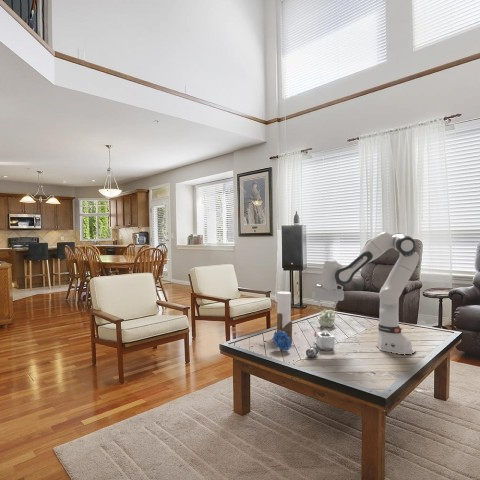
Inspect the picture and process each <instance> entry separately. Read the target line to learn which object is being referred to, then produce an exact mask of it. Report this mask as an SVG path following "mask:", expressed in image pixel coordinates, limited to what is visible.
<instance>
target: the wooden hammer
mask: <svg viewBox="0 0 480 480" xmlns="http://www.w3.org/2000/svg"><path fill="white" fill-rule="evenodd" d="M279 330H280V331H283V332H285V333H287V337H290V339H291V341H290V343H291V344H293V321H292V320H291V322H289V323H288V324H287V325H286V326H285V327H283V328H282V313H277V312H276V332H277V333H278V331H279Z"/></svg>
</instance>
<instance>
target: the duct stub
mask: <svg viewBox="0 0 480 480" xmlns="http://www.w3.org/2000/svg"><path fill="white" fill-rule="evenodd" d="M305 355H306V356H307V358H309V359H312V358H314V357H315V356H318V355H319V349H317V346H311V347H310V348H308V349H306V351H305Z"/></svg>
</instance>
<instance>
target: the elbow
mask: <svg viewBox="0 0 480 480" xmlns="http://www.w3.org/2000/svg"><path fill="white" fill-rule="evenodd" d="M322 333H323V332H321V331H320V330H314V337H315V339H316V344H315V345H316V347H317V346H319V347H320V348H321V349H328V348H334V349H335V338H336V337H335V336H334V335H333V334H331V333H330V332H327V333H328V334H329V336H324V337H323V336H322Z"/></svg>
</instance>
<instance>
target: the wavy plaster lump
mask: <svg viewBox="0 0 480 480" xmlns="http://www.w3.org/2000/svg"><path fill="white" fill-rule="evenodd" d="M335 319H336V312H335V311H334V310H332V309H329V310H328V309H323V310H320V316H319V318H318V319H317V321H318V323H319V326H320V327H324V328H326V327H327V328H332V327H333V325H334V323H335Z"/></svg>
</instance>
